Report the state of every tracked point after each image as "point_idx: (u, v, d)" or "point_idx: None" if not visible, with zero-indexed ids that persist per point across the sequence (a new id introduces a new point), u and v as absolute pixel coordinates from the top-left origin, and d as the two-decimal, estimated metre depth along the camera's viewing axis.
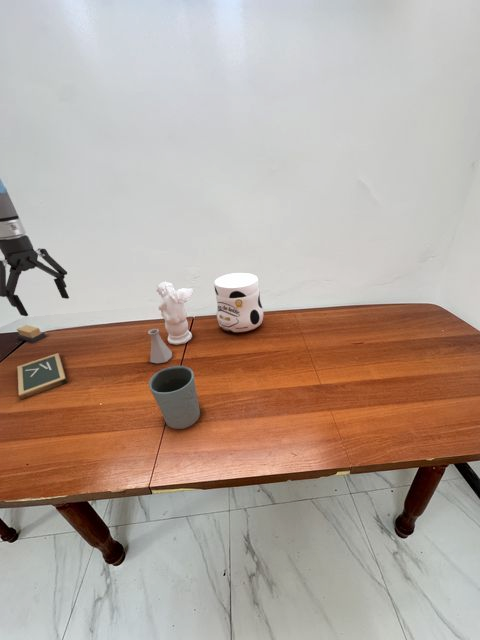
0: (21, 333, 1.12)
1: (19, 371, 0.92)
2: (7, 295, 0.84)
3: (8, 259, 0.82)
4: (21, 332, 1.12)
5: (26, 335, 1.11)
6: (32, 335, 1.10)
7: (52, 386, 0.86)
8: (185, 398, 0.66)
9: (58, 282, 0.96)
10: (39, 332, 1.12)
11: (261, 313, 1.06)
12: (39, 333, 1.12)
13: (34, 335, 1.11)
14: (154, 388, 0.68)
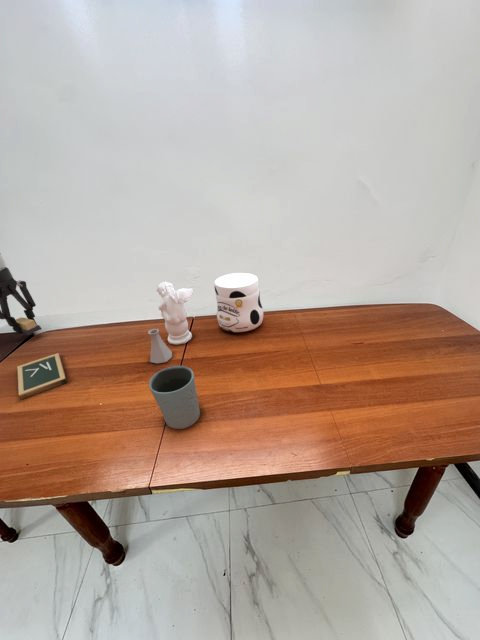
0: None
1: (19, 371, 0.92)
2: (6, 318, 1.05)
3: None
4: None
5: (21, 327, 1.10)
6: (27, 327, 1.09)
7: (52, 386, 0.86)
8: (185, 398, 0.66)
9: (27, 313, 1.11)
10: (34, 324, 1.11)
11: (261, 313, 1.06)
12: (34, 325, 1.11)
13: (29, 327, 1.09)
14: (154, 388, 0.68)
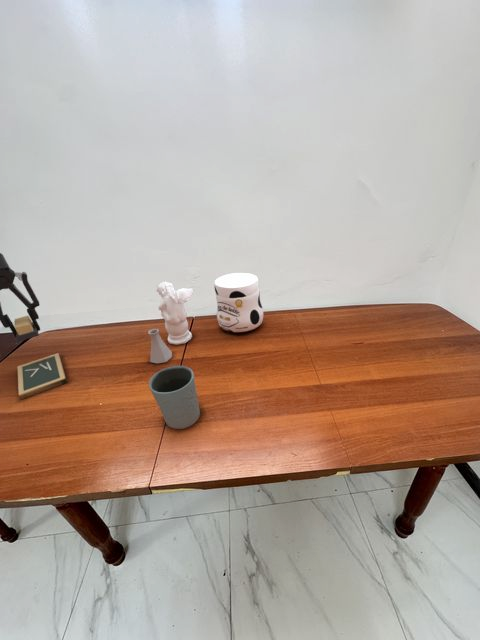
0: None
1: (19, 371, 0.92)
2: None
3: None
4: None
5: None
6: (19, 332, 0.85)
7: (52, 386, 0.86)
8: (185, 398, 0.66)
9: (28, 313, 0.88)
10: (30, 329, 0.87)
11: (261, 313, 1.06)
12: (30, 330, 0.87)
13: (21, 332, 0.86)
14: (154, 388, 0.68)
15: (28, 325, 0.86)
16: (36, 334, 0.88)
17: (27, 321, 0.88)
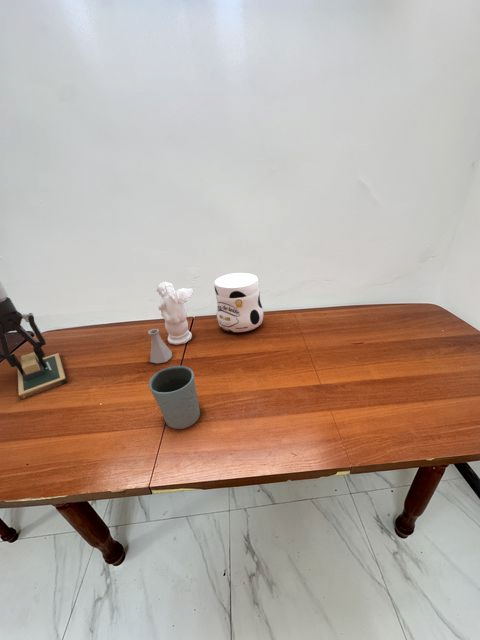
0: None
1: (19, 371, 0.92)
2: (5, 358, 0.86)
3: None
4: None
5: None
6: (26, 371, 0.87)
7: (52, 386, 0.86)
8: (185, 398, 0.66)
9: (34, 352, 0.90)
10: (36, 368, 0.89)
11: (261, 313, 1.06)
12: (36, 369, 0.89)
13: (28, 371, 0.88)
14: (154, 388, 0.68)
15: (35, 365, 0.88)
16: (42, 373, 0.90)
17: (34, 360, 0.90)
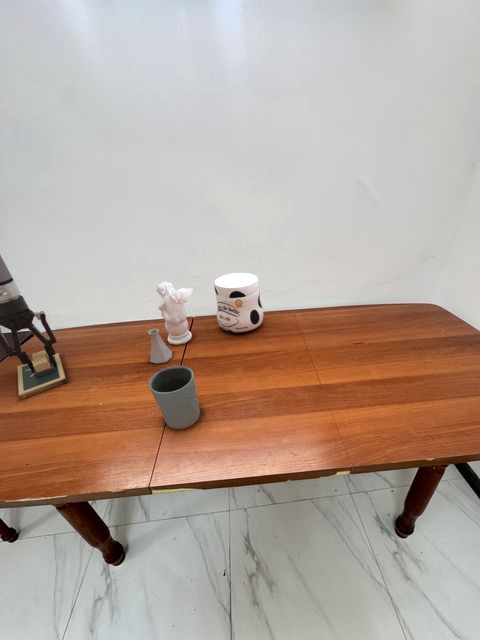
0: None
1: (19, 371, 0.92)
2: (16, 355, 0.86)
3: None
4: None
5: None
6: (37, 369, 0.88)
7: (52, 386, 0.86)
8: (185, 398, 0.66)
9: None
10: (47, 366, 0.89)
11: (261, 313, 1.06)
12: (47, 367, 0.89)
13: (39, 369, 0.88)
14: (154, 388, 0.68)
15: (46, 362, 0.89)
16: (53, 370, 0.90)
17: (44, 358, 0.90)
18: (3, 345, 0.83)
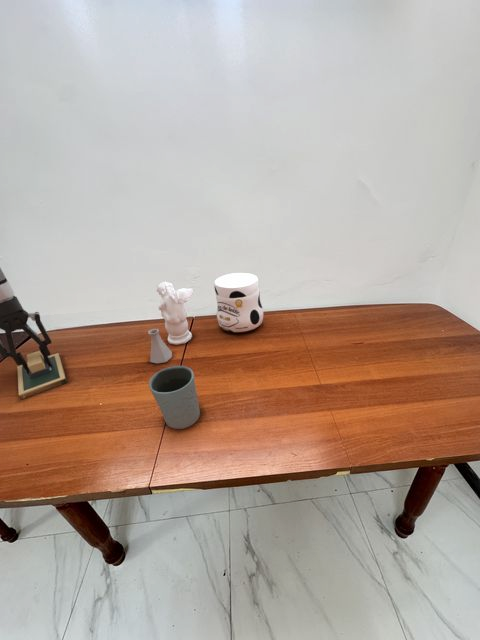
0: None
1: (19, 371, 0.92)
2: (11, 356, 0.86)
3: None
4: None
5: None
6: (32, 370, 0.88)
7: (52, 386, 0.86)
8: (185, 398, 0.66)
9: None
10: (42, 367, 0.89)
11: (261, 313, 1.06)
12: (42, 368, 0.89)
13: (34, 370, 0.88)
14: (154, 388, 0.68)
15: (40, 363, 0.89)
16: (48, 371, 0.90)
17: (39, 358, 0.90)
18: None
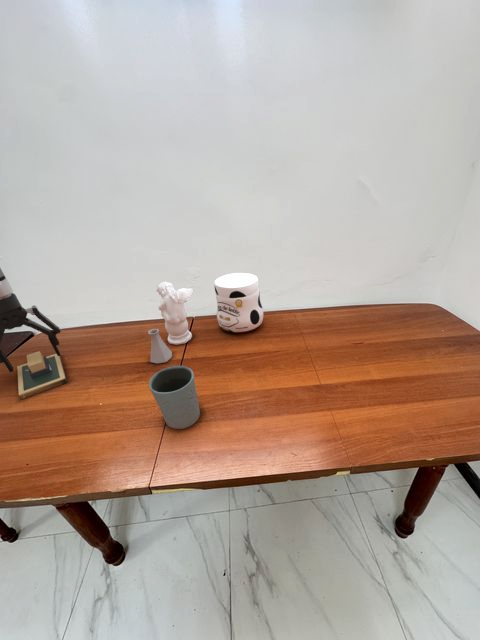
0: None
1: (19, 371, 0.92)
2: None
3: None
4: None
5: None
6: (32, 369, 0.88)
7: (52, 386, 0.86)
8: (185, 398, 0.66)
9: None
10: (42, 366, 0.90)
11: (261, 313, 1.06)
12: (42, 368, 0.90)
13: (34, 370, 0.89)
14: (154, 388, 0.68)
15: (41, 363, 0.89)
16: (48, 371, 0.91)
17: (39, 358, 0.90)
18: None
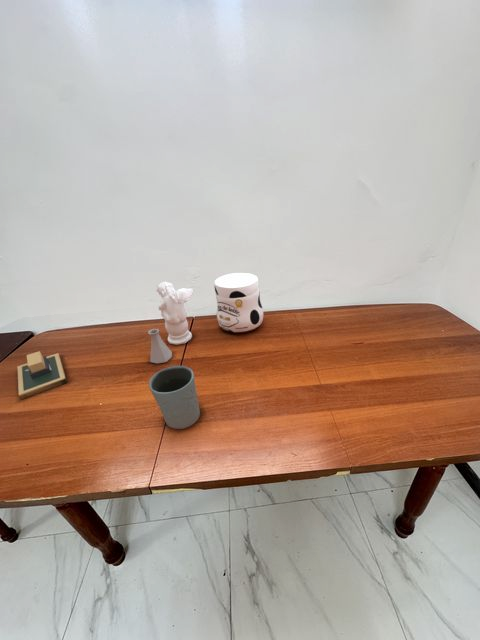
0: None
1: (19, 371, 0.92)
2: None
3: None
4: None
5: None
6: (32, 369, 0.88)
7: (52, 386, 0.86)
8: (185, 398, 0.66)
9: None
10: (42, 366, 0.90)
11: (261, 313, 1.06)
12: (42, 368, 0.90)
13: (34, 370, 0.89)
14: (154, 388, 0.68)
15: (41, 363, 0.89)
16: (48, 371, 0.91)
17: (39, 358, 0.90)
18: None
